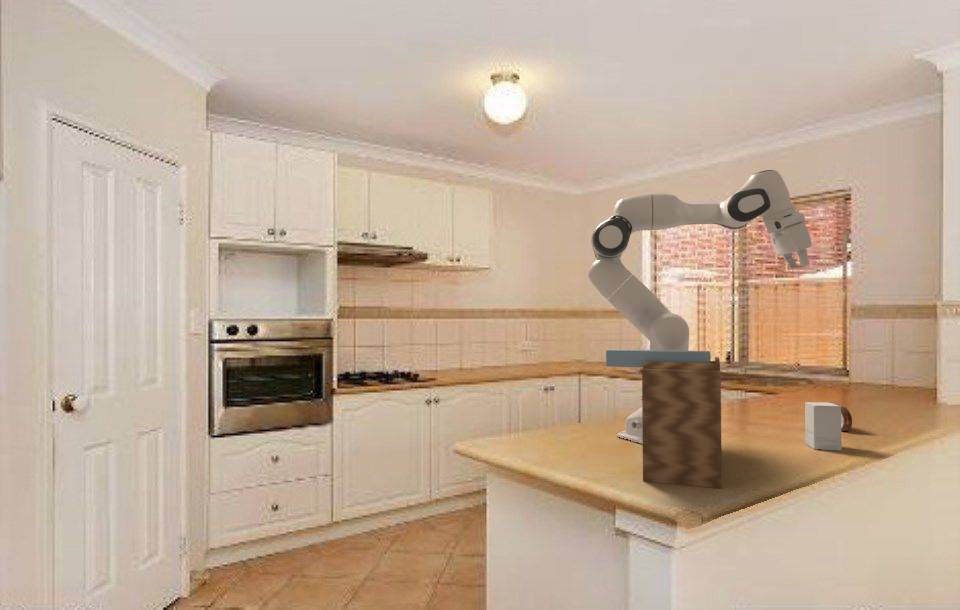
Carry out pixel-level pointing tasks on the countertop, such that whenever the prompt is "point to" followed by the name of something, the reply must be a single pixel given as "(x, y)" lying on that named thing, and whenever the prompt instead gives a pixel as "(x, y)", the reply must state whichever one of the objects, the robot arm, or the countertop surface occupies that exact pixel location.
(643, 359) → the bar
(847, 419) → the brown curved piece
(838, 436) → the supplement box
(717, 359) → the stand
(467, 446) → the countertop surface
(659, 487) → the countertop surface
